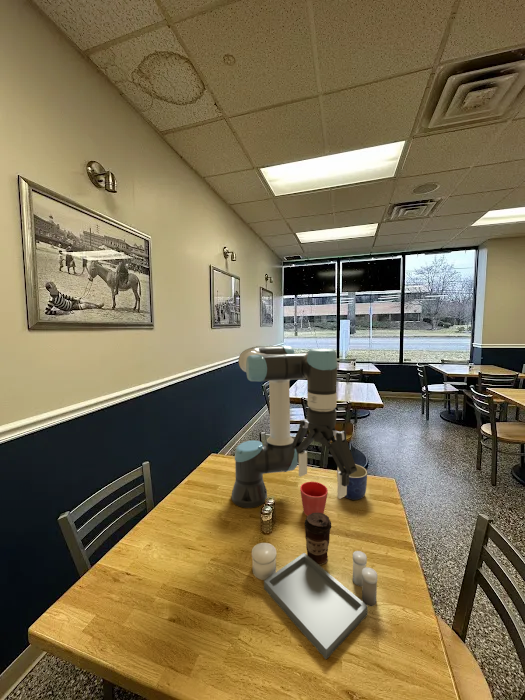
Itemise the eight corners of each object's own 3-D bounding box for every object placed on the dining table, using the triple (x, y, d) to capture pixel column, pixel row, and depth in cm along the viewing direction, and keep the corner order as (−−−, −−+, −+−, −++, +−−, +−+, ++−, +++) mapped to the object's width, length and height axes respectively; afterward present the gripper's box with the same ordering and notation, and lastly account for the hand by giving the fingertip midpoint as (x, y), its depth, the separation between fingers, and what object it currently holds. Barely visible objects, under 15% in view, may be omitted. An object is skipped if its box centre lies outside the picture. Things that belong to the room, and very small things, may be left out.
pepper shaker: (358, 598, 78) (359, 572, 77) (366, 590, 80) (367, 565, 79) (371, 609, 75) (372, 582, 74) (379, 600, 77) (380, 574, 76)
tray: (264, 588, 81) (264, 580, 81) (304, 560, 91) (304, 552, 90) (326, 659, 64) (326, 649, 63) (367, 614, 73) (367, 605, 73)
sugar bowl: (247, 568, 88) (246, 550, 87) (266, 556, 92) (265, 539, 92) (262, 585, 82) (261, 566, 82) (281, 571, 87) (281, 553, 86)
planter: (369, 491, 128) (370, 467, 127) (362, 506, 117) (363, 480, 116) (341, 483, 134) (342, 460, 133) (333, 496, 124) (333, 472, 123)
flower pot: (330, 507, 117) (330, 484, 116) (324, 524, 107) (324, 499, 106) (304, 501, 121) (304, 478, 120) (296, 516, 111) (296, 492, 110)
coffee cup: (331, 571, 86) (332, 530, 85) (303, 566, 88) (303, 526, 87) (330, 549, 95) (331, 511, 94) (305, 545, 97) (305, 508, 96)
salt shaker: (349, 579, 84) (350, 555, 83) (357, 572, 86) (357, 548, 85) (361, 589, 81) (361, 563, 80) (368, 581, 83) (369, 556, 82)
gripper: (279, 400, 84) (280, 471, 86) (354, 422, 64) (352, 513, 66) (298, 396, 88) (298, 463, 90) (372, 416, 69) (370, 501, 71)
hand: (321, 484), depth 78 cm, fingers open, 13 cm apart
